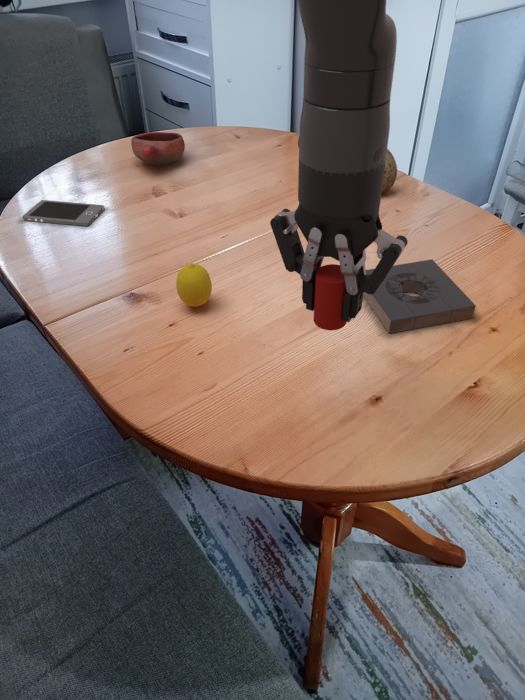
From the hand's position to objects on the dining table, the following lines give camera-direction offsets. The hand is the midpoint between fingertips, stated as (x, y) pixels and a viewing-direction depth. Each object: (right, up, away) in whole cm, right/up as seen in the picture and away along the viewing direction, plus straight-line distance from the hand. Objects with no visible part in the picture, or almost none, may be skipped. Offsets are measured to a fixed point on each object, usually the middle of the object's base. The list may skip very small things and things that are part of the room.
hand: (330, 311), depth 58 cm
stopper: (0, -1, +1) cm, 1 cm away
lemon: (-18, +3, +30) cm, 35 cm away
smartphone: (-49, +24, +56) cm, 78 cm away
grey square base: (+17, +4, +30) cm, 35 cm away
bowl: (-32, +41, +74) cm, 91 cm away
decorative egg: (+18, +30, +61) cm, 70 cm away
